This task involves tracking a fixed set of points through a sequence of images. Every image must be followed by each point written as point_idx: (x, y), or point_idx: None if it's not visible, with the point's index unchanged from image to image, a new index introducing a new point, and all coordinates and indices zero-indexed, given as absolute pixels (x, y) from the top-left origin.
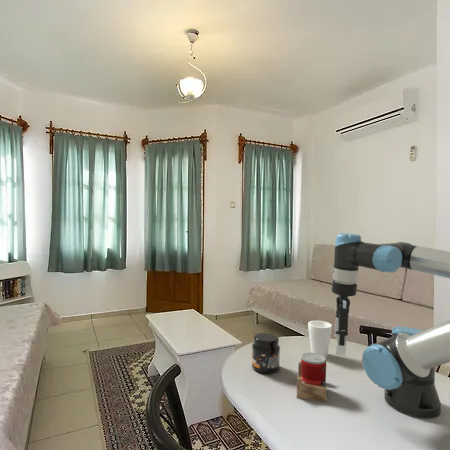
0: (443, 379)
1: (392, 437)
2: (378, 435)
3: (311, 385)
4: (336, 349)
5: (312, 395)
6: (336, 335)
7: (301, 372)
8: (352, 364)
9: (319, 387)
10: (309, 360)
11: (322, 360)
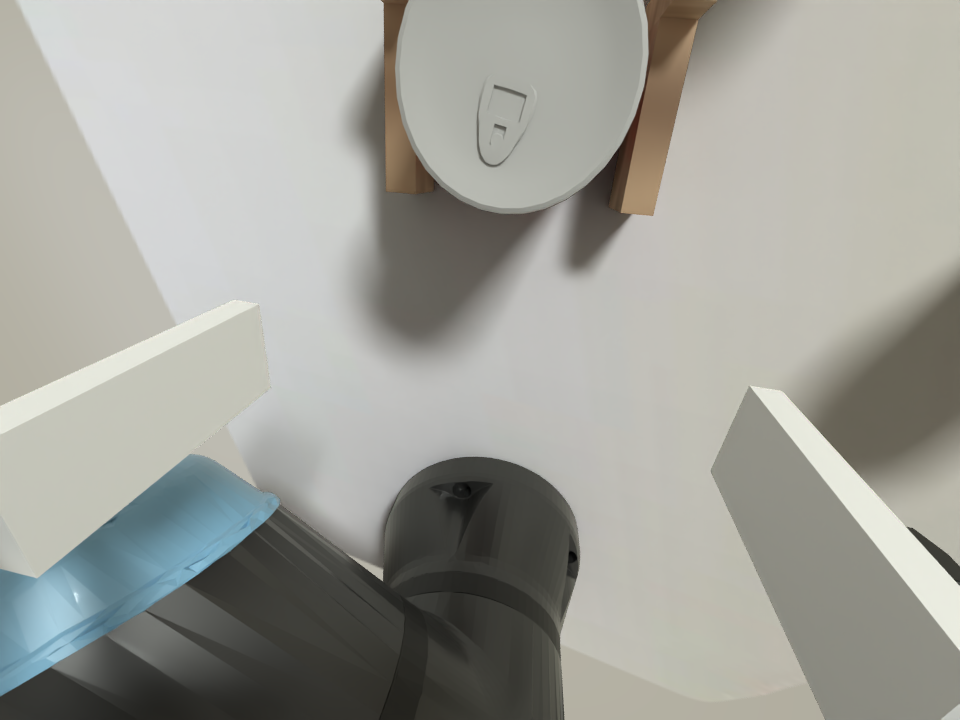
0: (690, 694)
1: None
2: None
3: None
4: (194, 322)
5: None
6: (751, 421)
7: None
8: (879, 420)
9: (396, 145)
10: (439, 19)
11: (466, 173)
